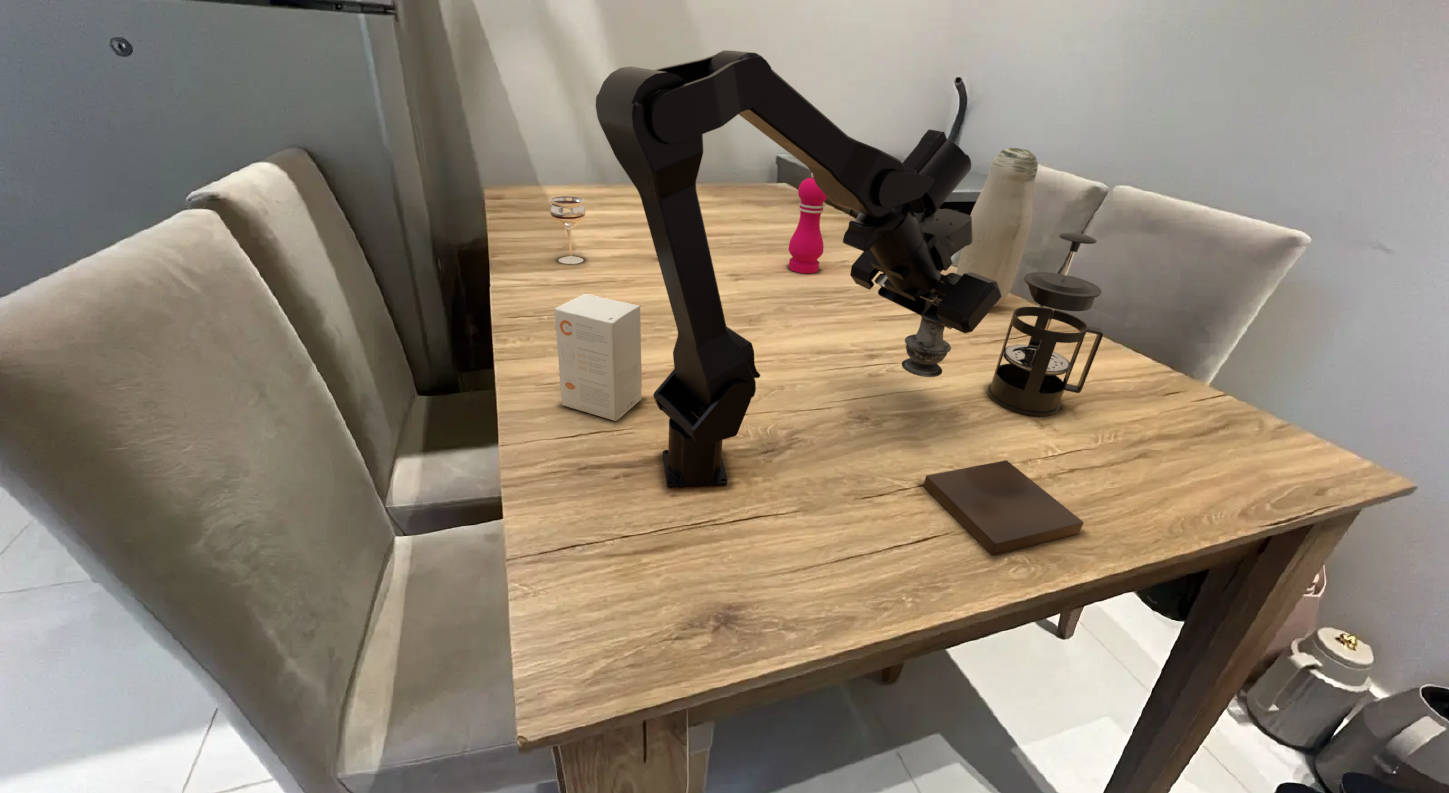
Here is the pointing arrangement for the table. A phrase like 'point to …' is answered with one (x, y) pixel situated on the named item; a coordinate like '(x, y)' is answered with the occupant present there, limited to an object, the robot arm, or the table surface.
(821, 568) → the table surface
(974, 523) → the walnut board
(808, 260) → the pepper mill
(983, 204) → the cream bottle
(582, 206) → the wineglass
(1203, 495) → the table surface
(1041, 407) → the french press
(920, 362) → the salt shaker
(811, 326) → the table surface
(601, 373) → the small box
